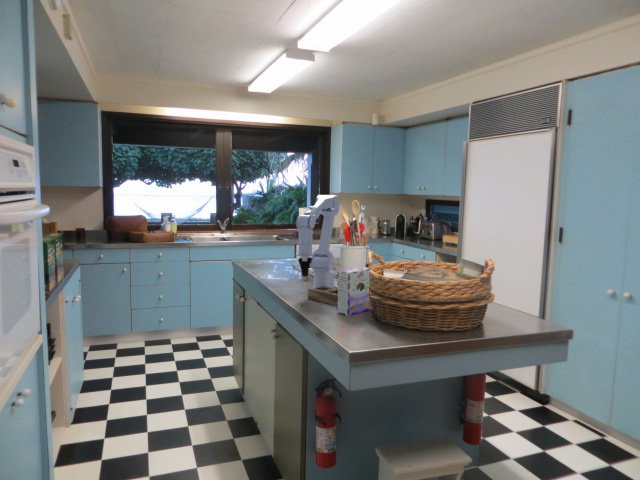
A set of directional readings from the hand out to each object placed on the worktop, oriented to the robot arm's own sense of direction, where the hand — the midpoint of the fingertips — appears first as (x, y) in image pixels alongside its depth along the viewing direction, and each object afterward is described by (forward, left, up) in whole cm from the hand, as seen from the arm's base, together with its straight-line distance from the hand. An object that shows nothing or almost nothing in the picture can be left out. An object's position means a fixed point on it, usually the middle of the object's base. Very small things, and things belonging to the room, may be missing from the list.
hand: (305, 275), depth 195 cm
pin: (0, 0, -2) cm, 2 cm away
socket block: (-6, +9, -10) cm, 14 cm away
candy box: (0, +28, -10) cm, 29 cm away
